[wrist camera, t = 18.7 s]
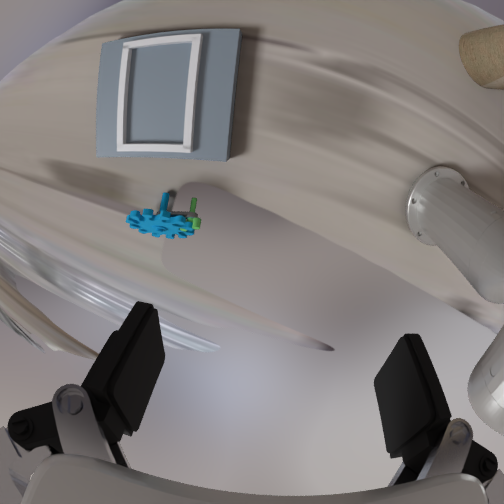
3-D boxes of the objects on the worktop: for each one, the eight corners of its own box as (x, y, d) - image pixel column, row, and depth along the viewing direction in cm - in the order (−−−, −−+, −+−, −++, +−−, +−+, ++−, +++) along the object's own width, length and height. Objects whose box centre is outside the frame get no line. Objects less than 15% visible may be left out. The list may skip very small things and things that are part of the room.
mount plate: (242, 34, 27) (238, 26, 24) (229, 158, 36) (224, 163, 33) (111, 45, 28) (98, 42, 25) (105, 154, 37) (92, 158, 33)
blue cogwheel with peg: (142, 240, 42) (112, 218, 33) (149, 207, 44) (122, 179, 34) (207, 244, 41) (190, 220, 32) (212, 208, 43) (197, 176, 33)
